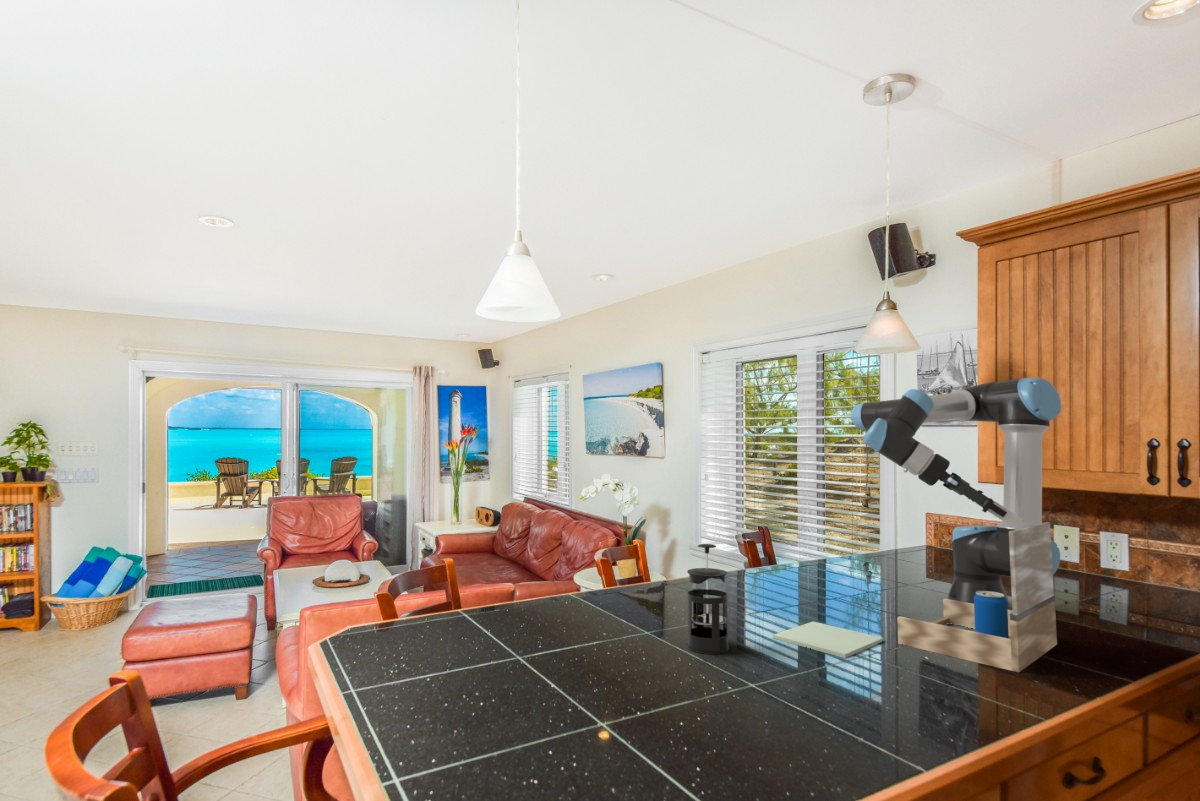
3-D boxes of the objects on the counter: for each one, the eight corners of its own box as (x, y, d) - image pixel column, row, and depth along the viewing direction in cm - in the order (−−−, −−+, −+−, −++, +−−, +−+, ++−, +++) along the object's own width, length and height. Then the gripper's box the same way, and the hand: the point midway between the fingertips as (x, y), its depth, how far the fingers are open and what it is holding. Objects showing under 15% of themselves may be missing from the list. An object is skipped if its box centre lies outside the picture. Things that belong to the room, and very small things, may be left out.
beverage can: (999, 643, 143) (997, 590, 144) (1015, 652, 137) (1012, 597, 138) (970, 642, 144) (968, 590, 145) (984, 651, 138) (982, 596, 138)
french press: (737, 653, 135) (736, 547, 137) (697, 656, 133) (697, 548, 135) (715, 637, 146) (714, 539, 148) (677, 640, 144) (677, 540, 146)
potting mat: (772, 638, 146) (772, 634, 146) (813, 624, 158) (813, 621, 158) (845, 658, 133) (844, 654, 133) (883, 641, 144) (883, 637, 144)
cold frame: (898, 643, 143) (894, 521, 145) (945, 622, 161) (941, 513, 163) (1019, 672, 124) (1013, 532, 127) (1057, 644, 143) (1051, 522, 145)
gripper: (911, 473, 163) (989, 524, 156) (921, 481, 141) (1013, 541, 134) (929, 450, 162) (1009, 500, 155) (942, 454, 139) (1036, 513, 132)
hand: (1011, 519), depth 144 cm, fingers open, 12 cm apart
